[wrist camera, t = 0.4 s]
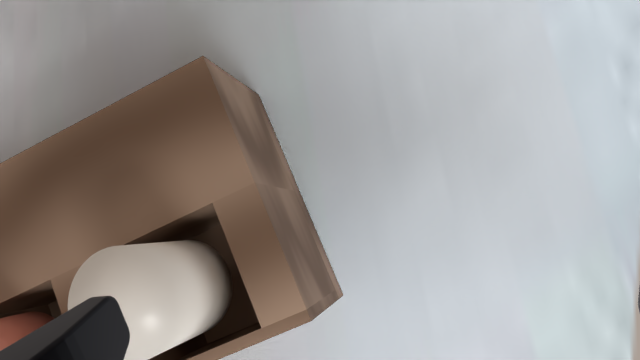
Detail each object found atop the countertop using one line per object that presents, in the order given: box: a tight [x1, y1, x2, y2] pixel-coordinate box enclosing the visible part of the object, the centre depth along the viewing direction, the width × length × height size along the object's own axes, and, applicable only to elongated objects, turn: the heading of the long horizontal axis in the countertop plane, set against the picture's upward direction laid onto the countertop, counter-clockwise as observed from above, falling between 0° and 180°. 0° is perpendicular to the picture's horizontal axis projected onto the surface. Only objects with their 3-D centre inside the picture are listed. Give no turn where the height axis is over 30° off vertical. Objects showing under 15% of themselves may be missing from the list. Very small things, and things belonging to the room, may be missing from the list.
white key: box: [68, 240, 233, 360], centre depth 17 cm, size 3×3×4 cm
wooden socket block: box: [0, 56, 343, 360], centre depth 23 cm, size 10×22×6 cm, turn 114°
